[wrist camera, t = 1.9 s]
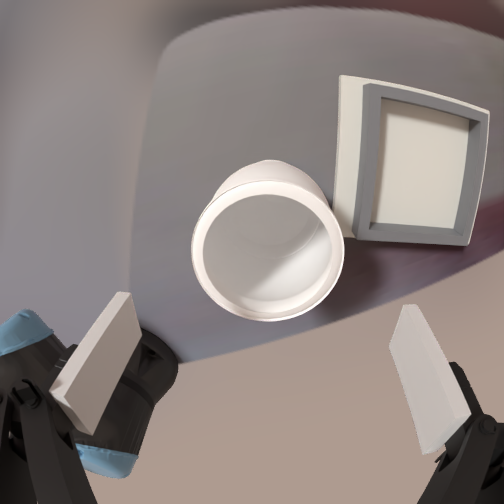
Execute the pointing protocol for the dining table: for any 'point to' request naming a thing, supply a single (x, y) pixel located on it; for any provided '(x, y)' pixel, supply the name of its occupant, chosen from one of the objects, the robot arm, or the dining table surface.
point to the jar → (268, 243)
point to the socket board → (407, 163)
